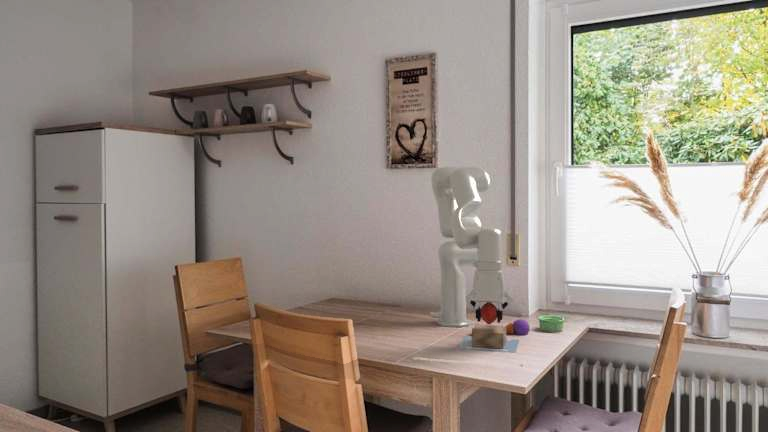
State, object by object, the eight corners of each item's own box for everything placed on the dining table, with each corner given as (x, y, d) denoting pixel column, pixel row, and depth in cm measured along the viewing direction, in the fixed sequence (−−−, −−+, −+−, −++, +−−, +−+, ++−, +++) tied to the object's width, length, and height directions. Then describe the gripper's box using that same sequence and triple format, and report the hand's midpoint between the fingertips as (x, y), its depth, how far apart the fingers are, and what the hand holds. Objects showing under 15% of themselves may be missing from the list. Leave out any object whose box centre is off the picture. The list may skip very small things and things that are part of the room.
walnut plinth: (471, 346, 186) (471, 331, 185) (476, 339, 195) (476, 324, 195) (503, 349, 183) (503, 333, 182) (506, 341, 192) (506, 326, 192)
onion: (478, 322, 191) (478, 298, 191) (495, 322, 192) (495, 298, 192) (482, 326, 186) (482, 302, 185) (500, 326, 186) (500, 301, 186)
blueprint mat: (457, 350, 184) (457, 348, 184) (465, 338, 199) (465, 336, 199) (515, 355, 179) (515, 352, 179) (519, 342, 194) (519, 339, 194)
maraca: (470, 324, 205) (525, 318, 206) (472, 341, 204) (527, 335, 206) (474, 324, 199) (530, 318, 201) (476, 342, 198) (532, 336, 200)
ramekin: (565, 333, 206) (565, 321, 206) (539, 332, 208) (539, 320, 207) (562, 327, 215) (562, 315, 214) (537, 326, 216) (537, 315, 216)
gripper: (460, 267, 187) (460, 322, 188) (515, 268, 182) (515, 325, 183) (464, 264, 194) (464, 317, 195) (517, 265, 189) (516, 320, 190)
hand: (489, 320), depth 189 cm, fingers closed on onion, 5 cm apart
